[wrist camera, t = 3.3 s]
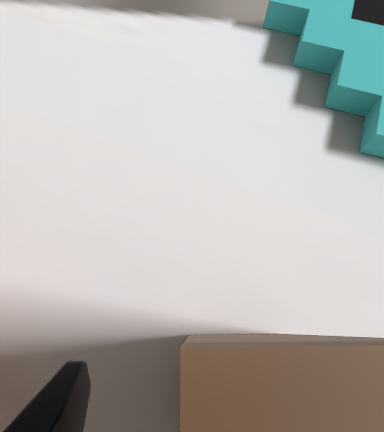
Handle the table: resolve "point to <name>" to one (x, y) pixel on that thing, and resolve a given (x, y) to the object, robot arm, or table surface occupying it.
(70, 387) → the robot arm
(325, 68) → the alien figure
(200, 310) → the table surface
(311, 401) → the walnut stick
